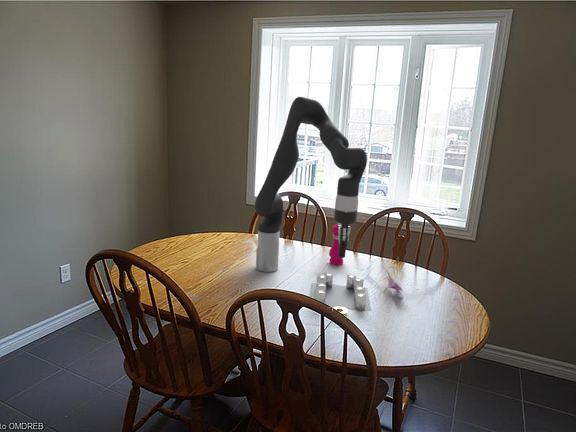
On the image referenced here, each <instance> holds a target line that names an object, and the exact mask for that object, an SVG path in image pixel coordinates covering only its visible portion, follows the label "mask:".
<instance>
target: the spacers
mask: <svg viewBox="0 0 576 432" xmlns="http://www.w3.org/2000/svg"><path fill="white" fill-rule="evenodd" d="M316 276H317V277H316V283H317V284H316V291H315V299H317V300H319V301H321V302H323V303H325V296H326V288H332V285H334V284H333V282H334V274H333V273H332V272H325V273H323V274H319V275H316ZM345 286H346V289H348V290H353V293H354V302H355V311H358V312H363V311H364V310H365V304H366V295H365V288H366V287H365V288H364V279H363V278H360V277H357V275H355V274H347V275H346V284H345Z"/></svg>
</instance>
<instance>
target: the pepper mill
mask: <svg viewBox="0 0 576 432" xmlns="http://www.w3.org/2000/svg"><path fill="white" fill-rule="evenodd" d="M336 223H337V222H336ZM339 226H341V223H337V224H335V225H333V227H332V228H331V231H332V238H333V242H332V246H331V247H330V249H329V251H328V252H329V253H328V255H329V257H330V258H329V264H331V265H333V266H342V265H343V264H344V259H343V258H342V257H339V240H338V236H339V233H338V228H339Z"/></svg>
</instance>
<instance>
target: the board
mask: <svg viewBox="0 0 576 432" xmlns="http://www.w3.org/2000/svg"><path fill="white" fill-rule="evenodd" d="M316 284H317V282H311V284H310V289H309V290H310V291H309V296H310V297H313V298H315V291H316ZM363 287H364V286H363ZM364 288H365V295H366V304H365V310H364V311H367V312H372V305H371V301H370V295H369V290H368V287H364ZM325 304H327V305H329V306H331V307H333V308H334V307H343V308H346V309H347V310H352V311H353V310H355V302H354V293H353V290H348V289H346V285H342V284H341V285H340V284H332V288H326V296H325ZM331 307H330V308H331ZM333 308H332V309H333ZM355 311H356V310H355ZM305 325H307V326H308V325H309V324H308V323H307V324H305ZM314 326H316V327H320V325H318V324H317V325H316V324H314ZM324 327H326V328H330V326H328V325H327V326H326V325H324ZM335 328H336V329H340V327H338V326H335ZM365 331H367V332H368V331H369V332H371V330H370V329H369V330H368V329H365Z"/></svg>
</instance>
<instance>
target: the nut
mask: <svg viewBox="0 0 576 432" xmlns="http://www.w3.org/2000/svg"><path fill="white" fill-rule="evenodd" d="M334 309H336V310H337V311H339V312H340V313H342V314H343V315H345V316H346V317H348V309H346V308H343V307H334Z"/></svg>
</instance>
